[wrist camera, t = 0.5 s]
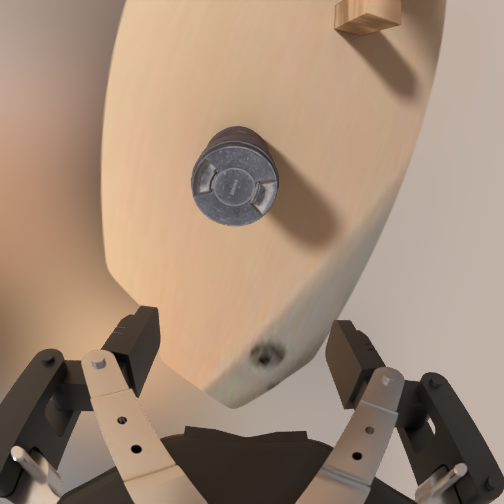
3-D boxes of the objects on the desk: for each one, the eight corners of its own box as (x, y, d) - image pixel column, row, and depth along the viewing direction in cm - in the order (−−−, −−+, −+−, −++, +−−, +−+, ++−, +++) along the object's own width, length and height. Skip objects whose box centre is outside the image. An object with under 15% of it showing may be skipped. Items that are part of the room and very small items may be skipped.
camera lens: (273, 128, 34) (291, 155, 22) (259, 182, 39) (267, 236, 27) (214, 116, 33) (196, 136, 21) (203, 171, 38) (183, 221, 25)
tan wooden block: (334, 29, 26) (366, 12, 17) (335, 5, 24) (367, -17, 15) (361, 35, 26) (400, 24, 17) (362, 13, 24) (401, -4, 15)
